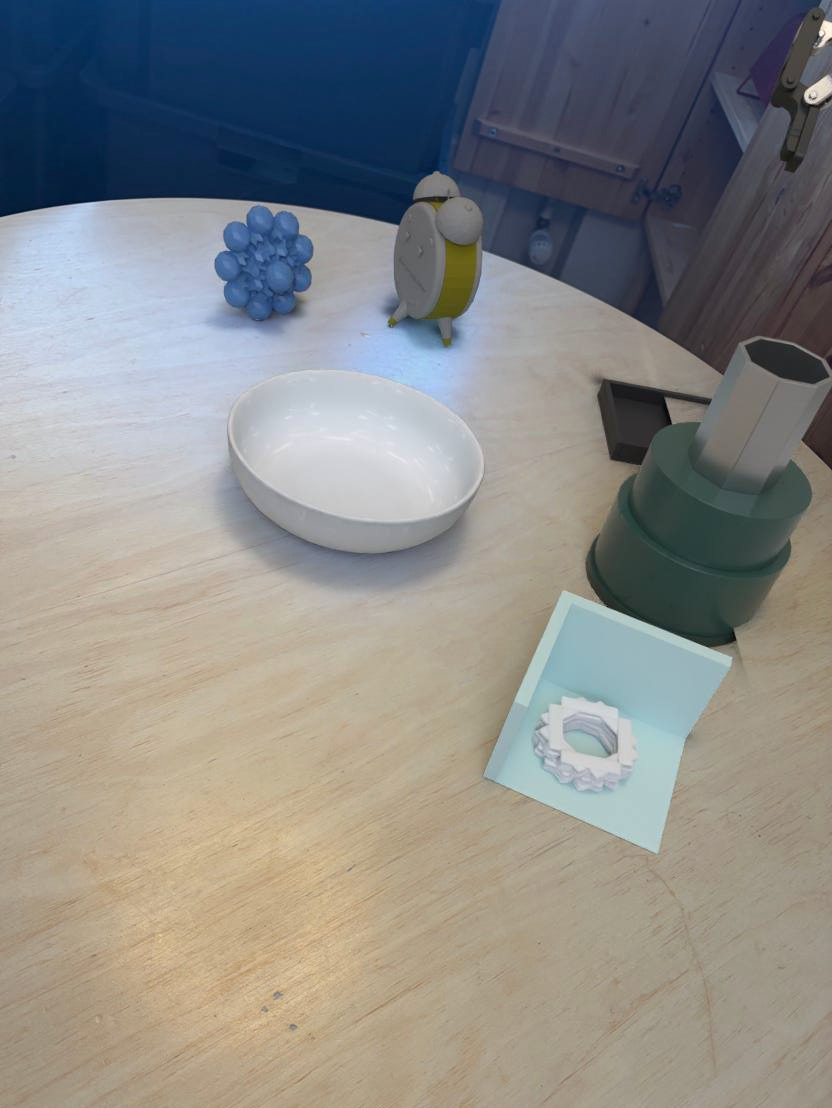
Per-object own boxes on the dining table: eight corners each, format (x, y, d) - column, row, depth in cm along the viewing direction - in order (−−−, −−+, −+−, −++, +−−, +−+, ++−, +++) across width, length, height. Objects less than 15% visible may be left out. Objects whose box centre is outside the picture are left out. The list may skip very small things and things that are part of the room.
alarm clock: (463, 352, 106) (500, 212, 96) (406, 353, 104) (437, 210, 93) (423, 300, 113) (454, 165, 103) (368, 300, 111) (394, 162, 101)
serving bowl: (278, 610, 73) (289, 538, 68) (187, 449, 85) (191, 379, 80) (511, 563, 81) (535, 496, 76) (397, 424, 94) (412, 358, 89)
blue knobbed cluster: (231, 347, 99) (241, 229, 90) (199, 316, 102) (206, 199, 94) (327, 330, 104) (345, 217, 96) (294, 301, 108) (308, 190, 100)
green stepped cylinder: (735, 546, 88) (799, 432, 80) (773, 660, 78) (851, 544, 69) (578, 517, 87) (625, 400, 79) (595, 629, 77) (651, 508, 69)
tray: (708, 415, 105) (715, 399, 103) (731, 481, 96) (740, 464, 95) (597, 394, 104) (603, 378, 103) (610, 459, 95) (617, 442, 94)
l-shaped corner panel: (482, 776, 65) (513, 701, 59) (531, 664, 73) (563, 589, 68) (657, 854, 62) (706, 783, 57) (687, 729, 71) (732, 657, 66)
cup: (762, 451, 77) (818, 347, 71) (782, 499, 72) (844, 392, 66) (683, 437, 76) (733, 330, 70) (698, 484, 72) (752, 375, 66)
